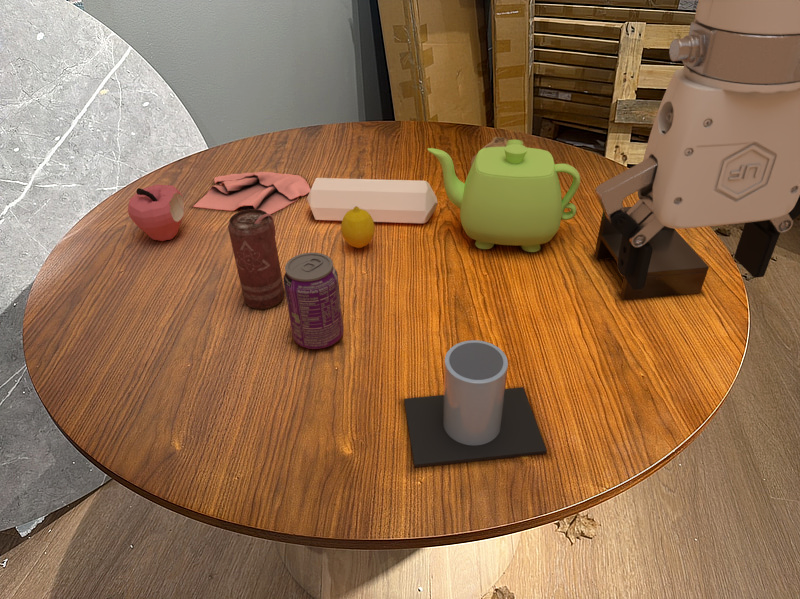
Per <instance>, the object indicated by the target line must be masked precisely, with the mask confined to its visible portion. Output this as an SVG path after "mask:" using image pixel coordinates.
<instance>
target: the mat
mask: <svg viewBox="0 0 800 599" xmlns="http://www.w3.org/2000/svg"><path fill="white" fill-rule="evenodd" d="M403 403H404V410H405V417H406V422H407V423H406V424H407V428H408V434H409V442H410V448H411V449H410V450H411V454H412V460H413V467H414V468H416V469H417V468H425V467H434V466H444V465H452V464H463V463H472V462H482V461H492V460H501V459H510V458H520V457H530V456H540V455H547V451H548V450H547V447H546V444H545V442H544V439H543V437H542V433H541V431H540V428H539V425H538V423H537V420H536V418H535V415H534V412H533V410H532V407H531V405H530V402H529V399H528V397H527V394H526V391H525V389H524V387H523V386H522V387H521V386H520V387H511V388H505V395H504V404H503V413H502V422H501V429H500V432H499V434H498V435H497V437H496V438H495V439H493V440H492V441H490V442H489V443H486V444H483V445H477V446H472V445H465V444H462V443H459V442H457V441H455V440H454V439H452V438H451V437H450V436H449V435H448V434H447V432H446V431H445V429H444V426H443V403H444V394H440V395H439V394H438V395H429V396H418V397H410V398H404V399H403Z"/></svg>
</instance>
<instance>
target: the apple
mask: <svg viewBox="0 0 800 599" xmlns="http://www.w3.org/2000/svg"><path fill="white" fill-rule="evenodd" d="M127 205H128V206H127V213H128V216H129V218H130V220H132V222H133V223H134V224H135V225H136V226H137V227H138V228H139V229H140V230H141V231H142V232H143V233H145V234H146V235H147V236H148V237H149V238H150V239H151V240H152V241H160V242H164V241H167V240H173V239H174V238H175V237H176V235H178V232H179V229H180V225H181V223H182V221H183V218H184V215H185V201H184V197H183V194H182V193H181V192H180V190H178V189H177V188H176V187H175V186H174V185H173V184H158V183H157V184H154V185H150V186H147V187H144V188H139V187H138V188H137V189H136V193H135V194H134V195H133V196H132V197H131V198H129V201H128V204H127Z"/></svg>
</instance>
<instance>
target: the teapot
mask: <svg viewBox="0 0 800 599" xmlns="http://www.w3.org/2000/svg"><path fill="white" fill-rule="evenodd" d="M482 148H483V147H482ZM482 148H481V149H480V150H478V151H477V153H476V154H477V156H476V158H475V160H474V162H473V164H472V166H471V165H470V169H469V171H468V174H467V176H466V179H465V181H464V182H463V181H462V180H460V179H459V178H458V176H457V174H456V171H455V164H454V161H453V159H452V157H451V155H450V154H449V153H448V152H446V151H444V150H442V149H439V148H435V147H434V148H433V147H428V148H427V151H428V152H429V153H430V154H432V155H433V156H434V157H435V158H436V159H437V160H438V161H439V164H440V167H441V170H442V176H443V186H444V191H445V194H446V196H447V198H448V199H449V201H450V203H452V204H453V205H454V206H456V208H458V209H459V218H460V224H461V226H462V229H463V230H464V232H465V234H466V236H467V237H469V238H470V239H472V240H474V241H475V243H474V246H475V247H476V248H478V249H480V250H489V249H492V248H493V247H494V245H502V246H520V247H521V249H522V250H523V251H525V252H527V253H536V252H539V251H540V250H541V245H543V244H546V243H549V242H550V241H551V240H552V239H553V238H554V237H555V235H557V233H558V232H559V230H560V228H561V222H562V221H569V220H572V219H574V218H575V216H576V215H577V206H576V205H575V204H574V203H572V202H571V201H572V199H573V198H574V196H575V195H576V193H577V192H578V189H579V188H580V184H581V175H580V173H579V171H578V170H577V168H575V167H574V166H572V165H571V164H568V163H555V160H554V157H553V155H552V153H551V152H550V151H548V150H546V149H542V148H541V149H540V148H535V147H527V146H525V145H524V141H523V140H521V139H507V145H506V147H488V148H483V149H482ZM558 173H565V174H568V175H570V176H571V177H572V182H571V185H570V187H569V189H567V192H566V193H565V194H564V196H562V189H561V183H560V179H559V174H558ZM565 209H569V211H565Z"/></svg>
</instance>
